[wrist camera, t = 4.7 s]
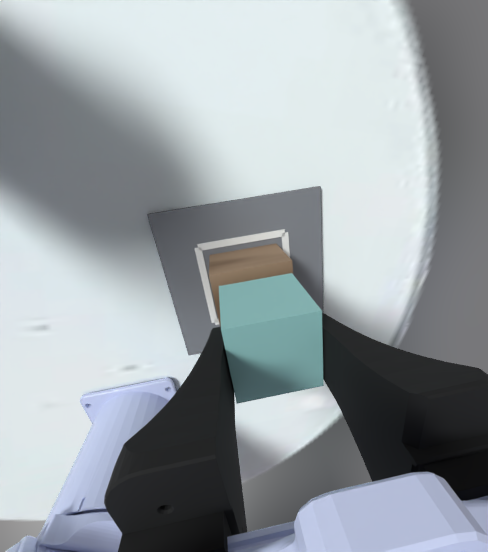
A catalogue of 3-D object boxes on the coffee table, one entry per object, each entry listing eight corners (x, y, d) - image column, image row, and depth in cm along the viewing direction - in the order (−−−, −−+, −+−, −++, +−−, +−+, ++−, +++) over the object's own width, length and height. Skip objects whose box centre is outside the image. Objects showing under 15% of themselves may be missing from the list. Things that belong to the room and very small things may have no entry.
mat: (322, 326, 22) (323, 329, 22) (188, 352, 21) (188, 355, 21) (318, 186, 17) (321, 186, 17) (148, 213, 17) (147, 214, 16)
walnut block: (281, 301, 20) (297, 329, 17) (221, 313, 20) (223, 344, 16) (276, 243, 18) (292, 260, 15) (209, 254, 18) (208, 275, 14)
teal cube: (296, 333, 15) (323, 385, 11) (230, 346, 15) (237, 403, 11) (291, 273, 13) (321, 310, 10) (218, 286, 13) (221, 329, 9)
